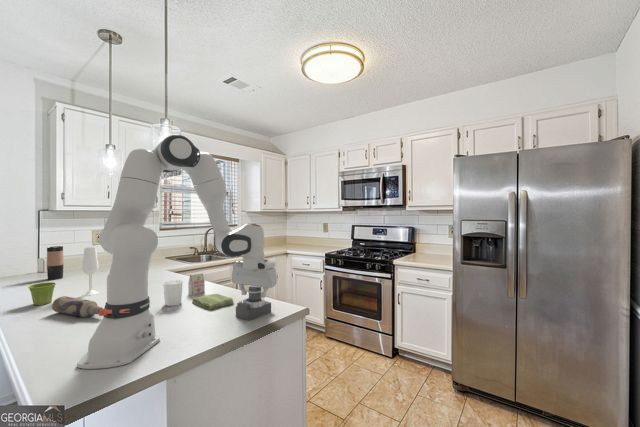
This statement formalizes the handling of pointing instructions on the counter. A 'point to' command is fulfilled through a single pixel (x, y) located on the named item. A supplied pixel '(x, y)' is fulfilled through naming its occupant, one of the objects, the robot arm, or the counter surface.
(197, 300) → the washcloth
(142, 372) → the counter surface
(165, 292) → the white cup
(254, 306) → the camera body
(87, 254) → the champagne flute
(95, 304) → the decorative bottle
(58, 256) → the travel mug
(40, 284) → the plant pot
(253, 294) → the lens
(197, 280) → the white food carton
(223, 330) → the counter surface
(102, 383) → the counter surface
